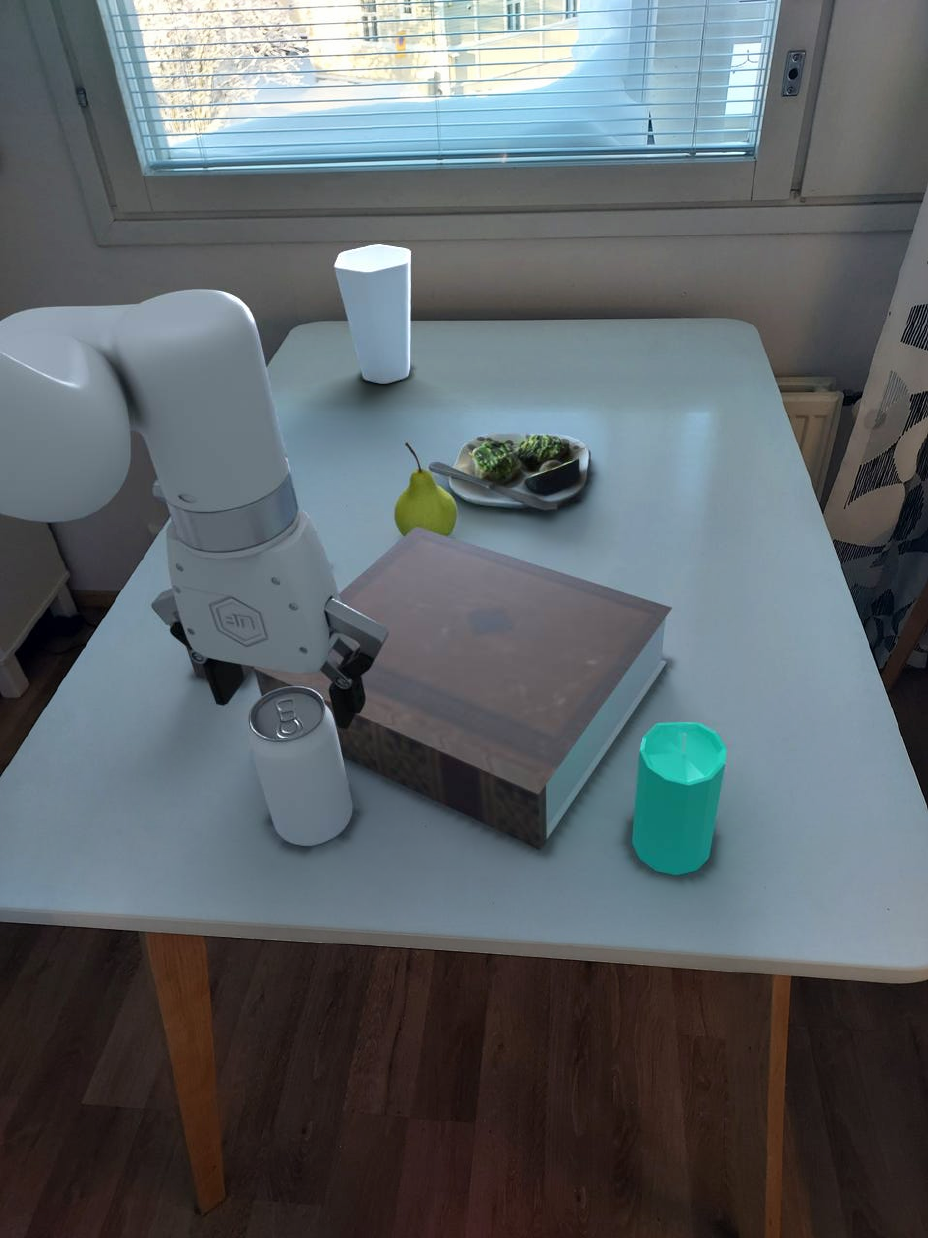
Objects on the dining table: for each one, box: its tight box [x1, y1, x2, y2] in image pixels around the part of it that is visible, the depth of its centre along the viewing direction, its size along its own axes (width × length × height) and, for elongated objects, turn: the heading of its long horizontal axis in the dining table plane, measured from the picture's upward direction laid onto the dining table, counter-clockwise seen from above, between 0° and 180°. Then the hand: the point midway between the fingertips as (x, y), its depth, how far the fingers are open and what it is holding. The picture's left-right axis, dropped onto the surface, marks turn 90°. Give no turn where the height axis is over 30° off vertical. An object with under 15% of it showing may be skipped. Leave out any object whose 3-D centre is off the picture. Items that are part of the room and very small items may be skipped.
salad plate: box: [427, 432, 592, 512], centre depth 112 cm, size 19×18×5 cm
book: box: [253, 527, 673, 850], centre depth 83 cm, size 24×28×6 cm
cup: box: [333, 244, 412, 385], centre depth 134 cm, size 11×10×17 cm
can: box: [247, 686, 353, 847], centre depth 72 cm, size 6×6×12 cm
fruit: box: [393, 441, 458, 537], centre depth 101 cm, size 7×7×12 cm
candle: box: [631, 721, 728, 876], centre depth 67 cm, size 6×6×12 cm
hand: (290, 703), depth 67 cm, fingers open, 9 cm apart
